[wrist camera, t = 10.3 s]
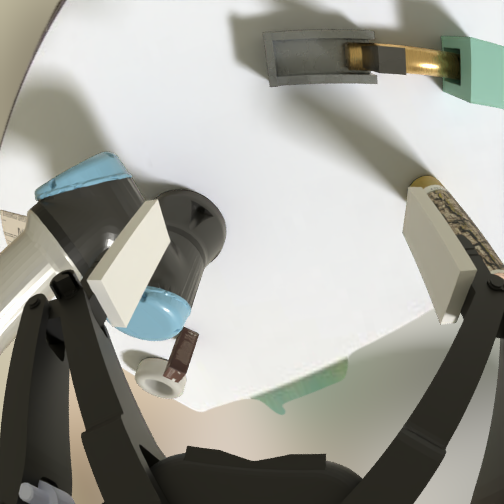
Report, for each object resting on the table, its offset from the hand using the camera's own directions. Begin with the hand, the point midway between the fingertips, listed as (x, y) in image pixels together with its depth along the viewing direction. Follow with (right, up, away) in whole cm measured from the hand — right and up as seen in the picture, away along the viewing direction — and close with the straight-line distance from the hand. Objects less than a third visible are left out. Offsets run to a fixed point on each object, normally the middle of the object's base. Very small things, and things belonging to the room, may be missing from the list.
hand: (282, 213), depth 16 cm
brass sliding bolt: (+21, +25, +18) cm, 37 cm away
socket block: (+29, +26, +18) cm, 43 cm away
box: (-18, -23, +60) cm, 67 cm away
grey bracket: (+8, +25, +21) cm, 34 cm away
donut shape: (-28, -37, +73) cm, 87 cm away
